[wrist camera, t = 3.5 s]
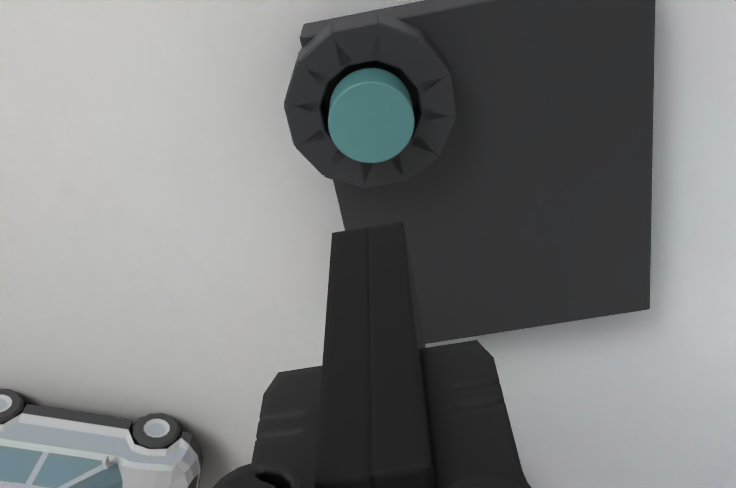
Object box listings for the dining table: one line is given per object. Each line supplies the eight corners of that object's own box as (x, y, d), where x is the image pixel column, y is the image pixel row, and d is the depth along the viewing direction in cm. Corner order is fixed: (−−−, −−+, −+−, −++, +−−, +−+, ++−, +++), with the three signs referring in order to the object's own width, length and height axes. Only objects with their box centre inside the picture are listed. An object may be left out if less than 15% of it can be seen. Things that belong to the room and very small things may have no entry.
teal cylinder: (321, 75, 24) (319, 90, 22) (404, 60, 23) (407, 74, 22) (339, 152, 25) (337, 170, 24) (417, 138, 25) (420, 155, 23)
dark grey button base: (278, 18, 26) (267, 44, 23) (636, -52, 24) (675, -36, 21) (354, 329, 33) (354, 379, 30) (634, 285, 32) (664, 332, 29)
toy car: (199, 492, 38) (179, 576, 34) (-48, 456, 37) (-103, 539, 32) (211, 415, 35) (191, 496, 31) (-56, 373, 34) (-117, 452, 30)
